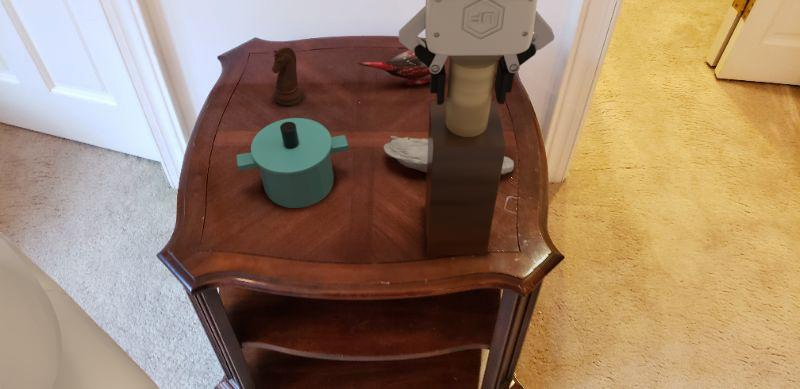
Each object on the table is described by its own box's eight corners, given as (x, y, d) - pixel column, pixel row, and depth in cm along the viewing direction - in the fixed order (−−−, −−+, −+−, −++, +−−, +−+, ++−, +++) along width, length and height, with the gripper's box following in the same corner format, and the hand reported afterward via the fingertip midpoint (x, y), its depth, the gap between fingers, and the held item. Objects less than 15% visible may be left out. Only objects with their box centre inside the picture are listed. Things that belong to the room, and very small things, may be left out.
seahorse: (504, 132, 90) (382, 124, 87) (526, 161, 80) (390, 153, 77) (498, 160, 93) (379, 154, 90) (519, 192, 83) (386, 186, 80)
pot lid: (339, 168, 77) (336, 145, 74) (256, 185, 75) (249, 162, 72) (324, 117, 84) (321, 94, 81) (248, 131, 82) (242, 108, 79)
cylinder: (489, 137, 61) (500, 68, 55) (446, 137, 61) (452, 69, 55) (485, 109, 65) (494, 42, 58) (444, 110, 65) (448, 42, 58)
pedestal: (486, 254, 75) (506, 146, 60) (427, 255, 75) (433, 147, 60) (479, 210, 81) (496, 100, 66) (425, 210, 81) (429, 101, 66)
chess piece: (270, 98, 98) (259, 50, 91) (292, 85, 101) (283, 37, 94) (287, 109, 96) (278, 60, 89) (309, 96, 99) (301, 47, 91)
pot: (357, 196, 83) (353, 160, 77) (250, 218, 80) (238, 182, 74) (343, 150, 89) (339, 114, 84) (244, 169, 87) (233, 133, 81)
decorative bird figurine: (456, 84, 101) (460, 36, 94) (360, 97, 99) (357, 48, 91) (452, 75, 103) (455, 27, 95) (358, 87, 100) (354, 39, 93)
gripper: (386, -54, 44) (390, 119, 58) (600, -56, 44) (555, 118, 58) (386, -91, 49) (390, 76, 63) (579, -93, 49) (541, 75, 63)
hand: (469, 95), depth 60 cm, fingers open, 5 cm apart
